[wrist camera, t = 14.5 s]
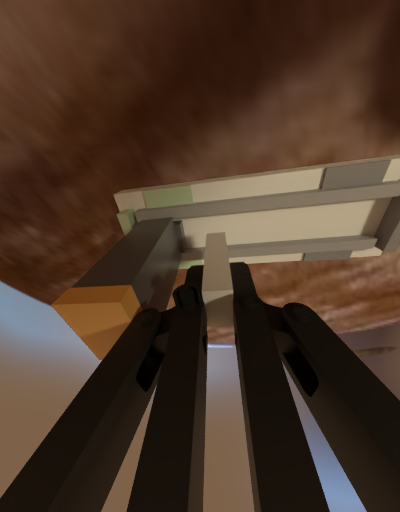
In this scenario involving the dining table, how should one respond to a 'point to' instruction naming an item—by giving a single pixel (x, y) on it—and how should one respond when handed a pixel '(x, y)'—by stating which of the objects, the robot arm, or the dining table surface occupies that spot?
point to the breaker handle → (124, 283)
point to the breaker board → (281, 212)
